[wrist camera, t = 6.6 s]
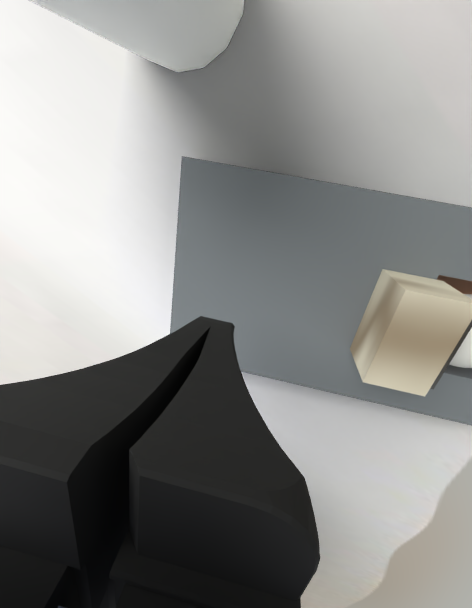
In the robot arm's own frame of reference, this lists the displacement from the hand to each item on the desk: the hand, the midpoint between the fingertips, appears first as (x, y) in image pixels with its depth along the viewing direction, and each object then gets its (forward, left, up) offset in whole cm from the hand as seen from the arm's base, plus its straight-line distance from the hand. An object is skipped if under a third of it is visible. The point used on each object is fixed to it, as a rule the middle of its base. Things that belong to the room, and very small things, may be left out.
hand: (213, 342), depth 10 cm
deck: (0, -7, -9) cm, 11 cm away
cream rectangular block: (0, -9, -6) cm, 11 cm away
